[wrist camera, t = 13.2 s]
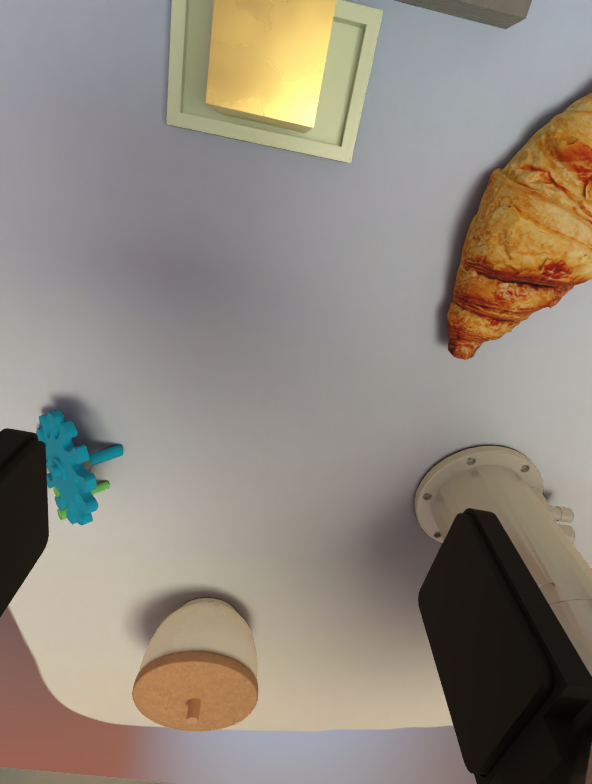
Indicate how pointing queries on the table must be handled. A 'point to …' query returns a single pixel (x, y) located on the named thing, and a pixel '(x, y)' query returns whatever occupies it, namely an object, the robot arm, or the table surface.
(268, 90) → the wooden block
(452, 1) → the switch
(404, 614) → the table surface
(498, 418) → the table surface
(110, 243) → the table surface
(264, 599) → the table surface
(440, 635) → the robot arm
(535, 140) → the croissant
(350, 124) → the tray
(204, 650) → the lidded bowl
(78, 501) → the gear
